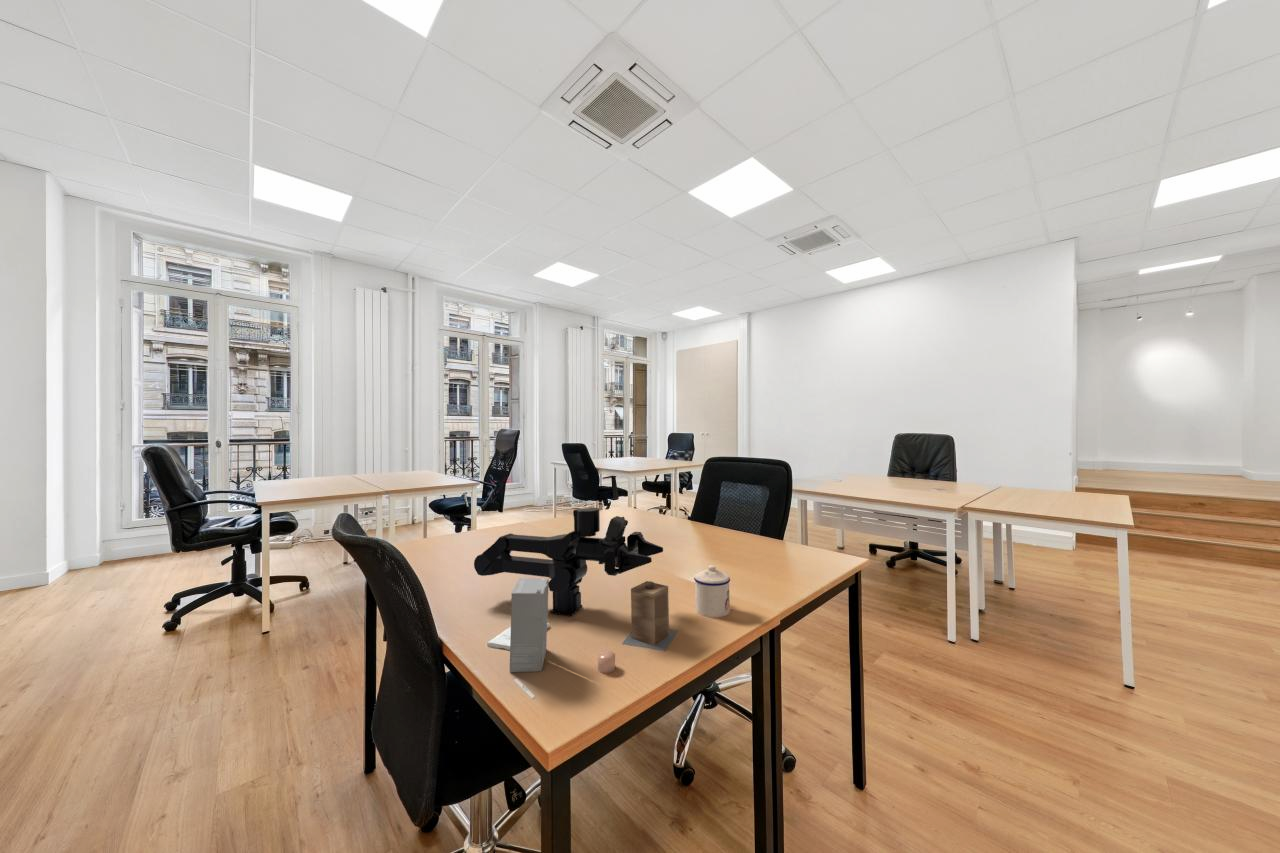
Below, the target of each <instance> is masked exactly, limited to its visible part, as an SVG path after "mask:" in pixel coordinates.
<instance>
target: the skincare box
mask: <svg viewBox="0 0 1280 853" xmlns="http://www.w3.org/2000/svg"><path fill="white" fill-rule="evenodd" d="M549 581H550V578H549V577H543V578H536V577H535V578H533V577H532V578H531V577H529V578H528V577H527V578H525V577H524V578H519V579H518V581H517V582H516V584H515V586H514V588H513V590H511V593H510V594H511V606H510V607H511V609H510V610H511V611H510V612H511V614H510V627H511V640H510V650H509V655H510V656H509V673H525V672H526V673H527V672H528V673H529V672H530V673H531V672H541V671H543V667H544V662H545V657H546V652H547V646H548V645H547V640H548V639H547V638H548V637H547V636H548V629H547V623H548V611H549V610H548V609H549V608H548V607H549V586H548V585H549Z"/></svg>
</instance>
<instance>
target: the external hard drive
mask: <svg viewBox="0 0 1280 853" xmlns="http://www.w3.org/2000/svg"><path fill="white" fill-rule="evenodd" d="M550 627H551V624H550V623H549V622H547V628H548V629H549V628H550ZM510 640H511V626H509V627H508V628H507V629H505V630H503V631H501V632H500V634H498V635H497V636H495V637H494V638H492V639H490V640H489V641H487V644H486V645H487V647H489V648H495V649H504V650H506V651H510Z"/></svg>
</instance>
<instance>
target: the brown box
mask: <svg viewBox="0 0 1280 853" xmlns="http://www.w3.org/2000/svg"><path fill="white" fill-rule="evenodd" d="M669 605H670V604H669V586H668V585H665V584H661V583H658V582H654V581H649V580H648V581H647V580H646V581H644V582H641V583H640V584H638V585H635V586H633V587H631V588H630V608H631V609H630V612H631V613H630V617H631V632H632V639H635V640H638V641H641V642H644V643H647V644H650V645H653V646H654V645H656V644H657V643H659V642H660V641H662V640H663V639H664V638H666V637H667V636H669V629H670V618H669V616H670V612H669V610H670V608H669Z"/></svg>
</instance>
